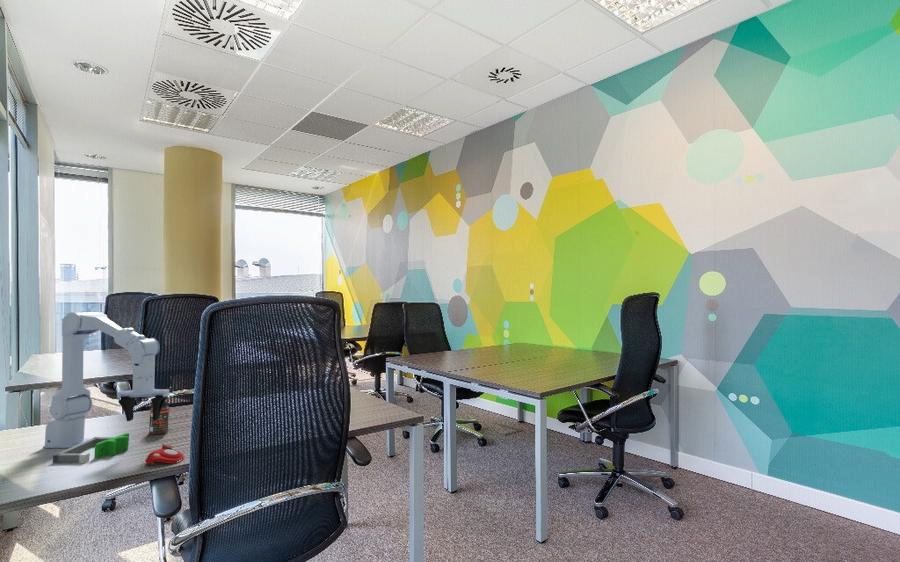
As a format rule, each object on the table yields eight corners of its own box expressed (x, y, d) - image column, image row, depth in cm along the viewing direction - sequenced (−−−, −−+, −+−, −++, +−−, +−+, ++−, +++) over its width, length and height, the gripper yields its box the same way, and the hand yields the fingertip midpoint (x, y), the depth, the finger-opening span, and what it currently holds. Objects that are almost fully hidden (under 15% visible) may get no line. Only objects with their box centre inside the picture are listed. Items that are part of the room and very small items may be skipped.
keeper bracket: (52, 463, 130) (52, 455, 130) (94, 443, 147) (95, 436, 147) (84, 462, 130) (85, 455, 131) (123, 443, 148) (123, 436, 148)
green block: (105, 460, 134) (105, 444, 134) (94, 459, 134) (94, 444, 134) (135, 447, 145) (136, 433, 145) (125, 446, 145) (126, 432, 145)
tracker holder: (191, 456, 135) (158, 457, 127) (185, 470, 135) (152, 473, 126) (172, 439, 142) (139, 440, 133) (166, 453, 141) (133, 454, 133)
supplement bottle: (150, 436, 156) (152, 403, 157) (147, 432, 160) (148, 400, 161) (170, 432, 160) (171, 401, 161) (166, 428, 165) (168, 398, 165)
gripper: (111, 379, 136) (110, 424, 136) (161, 378, 138) (160, 422, 137) (125, 375, 143) (124, 418, 143) (172, 374, 145) (172, 416, 144)
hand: (142, 419), depth 140 cm, fingers open, 7 cm apart
